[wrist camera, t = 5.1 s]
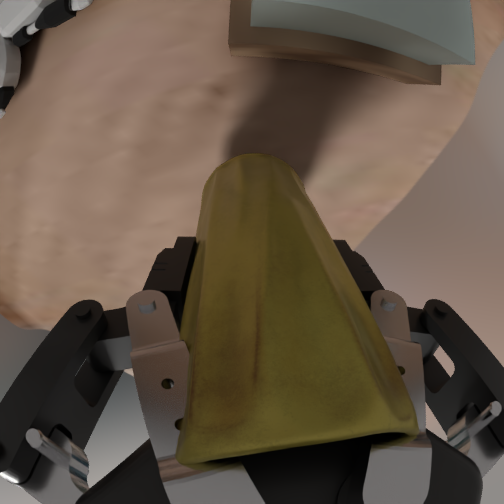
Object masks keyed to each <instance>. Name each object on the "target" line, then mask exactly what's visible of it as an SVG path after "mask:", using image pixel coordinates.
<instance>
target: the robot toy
mask: <svg viewBox="0 0 504 504" xmlns="http://www.w3.org/2000/svg"><path fill="white" fill-rule="evenodd" d="M92 1H93V0H3V1H2V3H1V4H0V118H2V117H3V115H4V114H5V113H6V111H5V109H6V107H7V105H8V104H9V102H10V100H11V98H12V96H13V94H14V89H15V87H16V86H17V85H18V80H19V76H20V67H21V55H20V50H19V47H20V46H23V45H25V44H26V43H27V42H29V41H30V40H32V37H33V33H35V32H36V31H38V30H39V29H46V28H52V27H57V26H58V25H60V24H62V23H64V22H65V21H67V20H69V19H71V18H73V17H75V16H76V10H82V9H84V8H86V7H87V6H89V5H90V4H91V3H92Z"/></svg>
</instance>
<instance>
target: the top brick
mask: <svg viewBox="0 0 504 504" xmlns="http://www.w3.org/2000/svg"><path fill="white" fill-rule="evenodd" d="M250 26H255V27H272V28H283V29H293V30H301V31H308V32H314V33H320V34H326V35H331V36H336V37H341V38H346V39H350V40H354V41H358V42H362V43H366V44H370V45H373V46H377V47H380V48H383V49H387V50H390V51H393V52H396V53H399V54H402V55H405V56H407V57H410V58H413V59H415V60H418V61H420V62H423V63H425V64H428V65H442V64H466V65H475V44H474V30H473V20H472V11H471V5H470V0H252V4H251V25H250Z"/></svg>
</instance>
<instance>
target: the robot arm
mask: <svg viewBox="0 0 504 504" xmlns="http://www.w3.org/2000/svg"><path fill="white" fill-rule="evenodd" d="M333 242H334V243H335V245H336V247H337V249H338V251H339V253H340V255H341V256H342V258H343V260H344V262H345V264H346V266H347V267H348V269H349V271H350V273H351V275H352V277H353V279H354V280H355V282H356V284H357V286H358V288H359V289H360V291H361V293H362V295H363V297H364V299H365V301H366V303H367V305H368V307H369V309H370V311H371V313H372V315H373V317H374V319H375V321H376V323H377V325H378V327H379V329H380V331H381V333H382V335H383V337H384V339H385V341H386V342H387V344H388V346H389V348H390V351H391V353H392V355H393V357H394V359H395V362H396V364H397V366H398V369H399V371H400V374H401V376H402V378H403V381H404V383H405V386H406V388H407V390H408V393H409V395H410V398H411V400H412V402H413V405H414V408H415V411H416V415H417V421H418V425H419V433H418V434H417V435H413V436H409V435H407V434H405V433H402V432H387V433H378V434H372V435H367V436H361V437H356V438H351V439H346V440H340V441H334V442H328V443H321V444H314V445H307V446H300V447H292V448H286V449H280V450H274V451H268V452H262V453H256V454H249V455H242V456H236V457H228V458H222V459H215V460H209V461H205V462H201V463H196V464H183V463H180V462H178V461H177V460H176V457H175V454H176V447H177V443H178V437H179V433H180V431H179V430H177V429H176V427H177V424H178V423H179V422H180V421H181V420H182V419H183V417H184V412H185V406H186V401H187V374H188V364H189V355H190V354H189V351H188V349H187V346H186V344H185V342H184V340H179V337H180V334H179V333H180V326H181V321H182V315H183V310H184V305H185V300H186V295H187V289H188V284H189V279H190V275H191V271H192V267H193V262H194V256H195V250H196V245H197V240H196V237H178V238H177V240H176V243H175V245H174V248H165V249H164V250H163V251H162V252H160V253H159V254H158V255H157V257H156V260H155V262H154V264H153V266H152V270H151V271H150V273H149V276H148V278H147V281H146V283H145V285H144V288H143V290H142V291H140V292H138V293H136V294H134V295H132V296H131V297H130V298H129V299H128V301H127V303H126V307H123V308H119V309H113V310H107V311H104V310H103V308H102V305H101V304H100V303H99V302H97V301H95V300H83V301H80V302H78V303H76V304H74V305H73V306H71V307H70V308H69V310H68V311H67V312H66V313H65V314H64V316H63V317H62V318H61V319H60V320H59V322H58V323H57V324H56V325H55V327H54V328H53V329H52V330H51V332H50V333H49V334H48V336H47V337H46V338H45V339H44V341H43V342H42V343H41V344H40V346H39V347H38V348H37V350H36V351H35V352H34V354H33V355H32V357H31V358H30V359H29V361H28V362H27V364H26V365H25V366H24V368H23V369H22V371H21V372H20V373H19V375H18V376H17V378H16V379H15V381H14V382H13V384H12V386H11V387H10V388H9V390H8V392H7V393H6V395H5V396H4V398H3V399H2V401H1V403H0V476H1V477H3V478H5V479H6V480H7V481H9V482H10V483H12V484H14V485H16V486H18V487H20V488H22V489H24V490H25V491H26V492H28V493H29V494H30V495H31V496H33V497H34V498H35V499H37V500H38V501H39V502H41V503H42V504H480V500H481V495H482V489H483V482H482V477H483V476H484V475H485V474H486V473H487V472H488V471H489V470H490V469H491V468H492V467H493V466H494V465H495V464H496V462H497V461H498V460H499V459H500V457H502V455H503V454H504V367H503V366H502V365H501V364H500V363H499V361H498V360H497V359H496V357H495V356H494V355H493V354H492V352H491V351H490V350H489V349H488V348H487V347H486V345H485V344H484V343H483V342H482V341H481V340H480V338H479V337H478V336H477V335H476V334H475V333H474V332H473V331H472V329H471V328H470V327H469V326H468V325H467V324H466V323H465V322H464V321H463V320H462V318H461V317H460V316H459V315H458V314H457V313H456V312H455V311H454V310H453V309H452V308H451V307H450V306H449V305H448V304H446V303H445V302H443V301H440V300H437V299H431V300H428V301H427V302H426V304H425V306H424V308H423V309H417V308H411V307H407V306H406V303H405V301H404V299H403V298H402V297H401V296H399V295H398V294H396V293H394V292H392V291H389V290H385V289H384V288H383V286H382V284H381V283H380V281H379V280H378V279H377V277H376V275H375V274H374V273H373V271H372V269H371V268H370V267H369V265H368V263H367V262H366V260H365V259H364V257H362V256H361V255H359V254H358V253H357V252H356V251H352V250H351V248H350V247H349V245H348V244H347V242H346V241H345V240H333ZM439 345H440V346H441V347H442V349H443V350H444V351H445V352H446V353H447V355H448V356H449V357H450V358H451V360H452V361H453V363H454V366H455V371H454V374H453V375H452V376H451V377H450V376H449V375H448V374H447V372H446V371H445V369H444V368H443V367H442V365H441V364H440V363H439V362H438V360H437V359H436V358H435V356H434V355H433V354H434V353H435V351H436V350H437V348H438V347H439ZM85 359H86V360H85ZM84 360H85V362H84ZM83 362H84V364H83ZM82 364H83V365H82ZM81 365H82V367H81V368H80V366H81ZM79 368H80V370H79ZM130 368H133V373H134V378H135V383H136V387H137V392H138V396H139V400H140V404H141V408H142V412H143V415H144V420H145V423H146V427H147V430H148V434H149V437H150V438H149V439H148V440H147V441H146V442H145V443H143V444H142V445H141V446H140V447H139V448H138V449H137V450H136V451H134V452H133V453H132V454H131V455H130V456H129V457H127V458H126V459H125V460H124V461H123V462H122V463H120V464H119V465H118V466H117V467H116V468H115V469H113V470H112V471H111V472H110V473H108V474H107V475H106V476H105V477H104V478H102V479H101V480H100V481H99V482H97V483H96V484H95V485H94V486H92V487H91V488H89V486H88V483H87V475H88V473H89V462H88V458H87V455H86V454H85V452H84V449H85V447H86V445H87V442H88V440H89V438H90V436H91V434H92V432H93V430H94V428H95V426H96V423H97V421H98V419H99V418H100V416H101V414H102V411H103V410H104V407H105V406H106V404H107V402H108V400H109V398H110V396H111V394H112V392H113V390H114V388H115V386H116V384H117V382H118V381H119V378H120V377H121V375H122V373H123V371H124V369H130ZM78 370H79V371H78ZM77 371H78V373H77ZM76 373H77V375H76ZM75 375H76V376H75ZM425 402H426V403H427V405H428V406H429V408H430V409H431V411H432V412H433V414H434V416H435V417H436V419H437V420H438V422H439V423H440V425H441V426H442V428H443V430H444V431H445V433H446V435H447V441H444V440H442V439H441V438H439V437H438V436H436V435H435V434H434V433H432V432H431V431H429V430H428V429H426V427H425V426H426V414H425V413H426V412H425Z"/></svg>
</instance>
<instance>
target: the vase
mask: <svg viewBox="0 0 504 504" xmlns="http://www.w3.org/2000/svg"><path fill="white" fill-rule="evenodd" d="M196 240H197V245H196V250H195V256H194V262H193V267H192V271H191V275H190V279H189V284H188V289H187V295H186V300H185V305H184V310H183V315H182V321H181V326H180V333H179V334H180V337H179V340H184V342H185V344H186V346H187V349H188V351H189V354H190V355H189V364H188V374H187V401H186V406H185V412H184V417H183V419H182V420H181V421H180V422H179V423H178V424H177V427H176V429H177V430H179V431H180V433H179V437H178V443H177V447H176V454H175V457H176V460H177V461H178V462H180V463H183V464H196V463H201V462H205V461H209V460H215V459H222V458H228V457H236V456H242V455H249V454H256V453H262V452H268V451H274V450H280V449H286V448H292V447H300V446H307V445H314V444H321V443H328V442H334V441H340V440H346V439H351V438H356V437H361V436H367V435H372V434H378V433H387V432H402V433H405V434H407V435H409V436H413V435H417V434H418V433H419V425H418V421H417V415H416V411H415V408H414V405H413V402H412V400H411V398H410V395H409V393H408V390H407V388H406V386H405V383H404V381H403V378H402V376H401V374H400V371H399V369H398V366H397V364H396V362H395V359H394V357H393V355H392V353H391V351H390V348H389V346H388V344H387V342H386V341H385V339H384V337H383V335H382V333H381V331H380V329H379V327H378V325H377V323H376V321H375V319H374V317H373V315H372V313H371V311H370V309H369V307H368V305H367V303H366V301H365V299H364V297H363V295H362V293H361V291H360V289H359V288H358V286H357V284H356V282H355V280H354V279H353V277H352V275H351V273H350V271H349V269H348V267H347V266H346V264H345V262H344V260H343V258H342V256H341V255H340V253H339V251H338V249H337V247H336V245H335V243H334V242H333V240H332V238H331V236H330V234H329V233H328V231H327V229H326V228H325V226H324V224H323V222H322V220H321V219H320V217H319V215H318V213H317V211H316V209H315V207H314V205H313V204H312V202H311V200H310V199H309V197H308V196H307V194H306V192H305V188H304V185H303V183H302V181H301V180H300V178H299V177H298V175H297V174H296V172H295V171H294V170H293V168H292V167H290V166H289V165H288V164H287V163H285V162H284V161H282V160H281V159H279V158H276V157H274V156H271V155H268V154H262V153H249V154H243V155H239V156H236V157H234V158H232V159H230V160H228V161H226V162H225V163H223V164H221V165H220V166H219V167H217V168H216V169H215V170H214V172H213V173H212V174H211V176H210V177H209V179H208V180H207V182H206V184H205V186H204V189H203V193H202V202H201V210H200V216H199V221H198V227H197V233H196Z"/></svg>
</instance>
